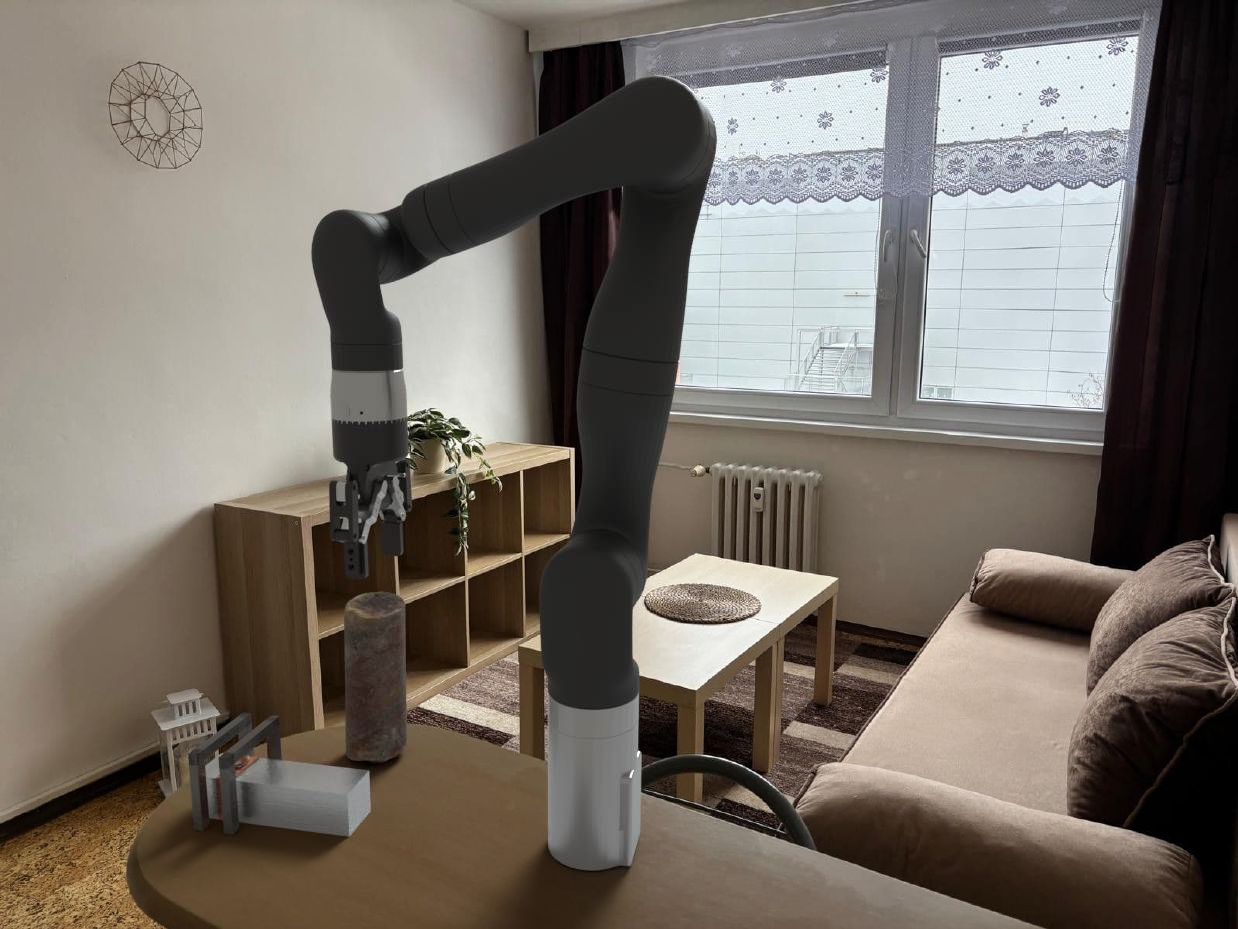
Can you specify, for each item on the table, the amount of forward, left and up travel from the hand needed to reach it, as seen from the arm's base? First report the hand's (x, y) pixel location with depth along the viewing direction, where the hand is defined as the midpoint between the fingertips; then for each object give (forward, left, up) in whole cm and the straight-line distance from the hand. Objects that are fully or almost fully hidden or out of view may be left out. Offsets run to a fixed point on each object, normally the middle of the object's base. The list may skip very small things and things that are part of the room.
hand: (375, 566), depth 96 cm
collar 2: (+14, +3, -28) cm, 31 cm away
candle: (+6, -11, -28) cm, 31 cm away
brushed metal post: (+10, +3, -28) cm, 30 cm away
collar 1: (+18, +3, -28) cm, 33 cm away
